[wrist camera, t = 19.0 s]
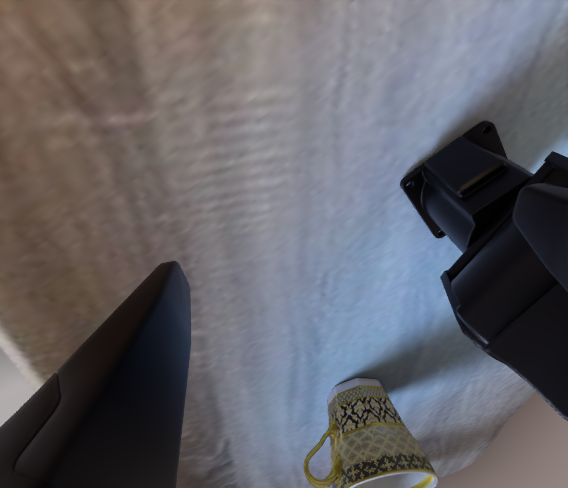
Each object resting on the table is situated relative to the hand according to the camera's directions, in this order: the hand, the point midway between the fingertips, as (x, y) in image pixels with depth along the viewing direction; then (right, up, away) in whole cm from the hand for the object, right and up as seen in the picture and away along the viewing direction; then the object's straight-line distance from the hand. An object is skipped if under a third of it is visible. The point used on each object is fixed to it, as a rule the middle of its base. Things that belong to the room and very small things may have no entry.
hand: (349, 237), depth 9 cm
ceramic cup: (+5, -17, +30) cm, 35 cm away
